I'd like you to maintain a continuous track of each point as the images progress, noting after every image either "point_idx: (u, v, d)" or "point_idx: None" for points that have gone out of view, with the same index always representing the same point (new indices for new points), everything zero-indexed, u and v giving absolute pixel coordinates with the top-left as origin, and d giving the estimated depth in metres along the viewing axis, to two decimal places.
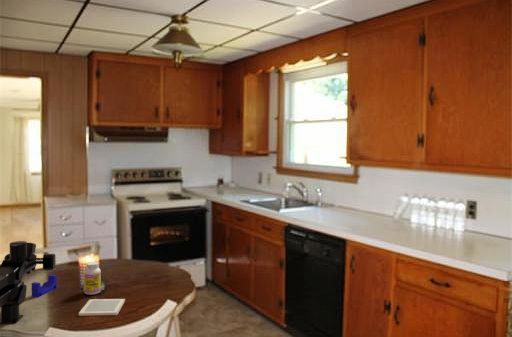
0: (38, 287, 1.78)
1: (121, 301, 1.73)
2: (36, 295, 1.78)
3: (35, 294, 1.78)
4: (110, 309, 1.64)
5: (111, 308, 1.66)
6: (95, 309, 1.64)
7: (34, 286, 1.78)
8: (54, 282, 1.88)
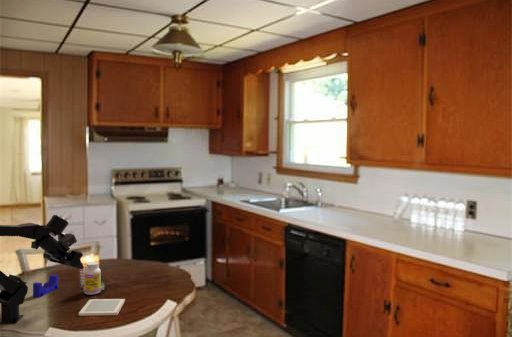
0: (40, 287, 1.78)
1: (121, 301, 1.73)
2: (38, 295, 1.78)
3: (36, 294, 1.78)
4: (110, 309, 1.64)
5: (111, 308, 1.66)
6: (95, 309, 1.64)
7: (36, 286, 1.78)
8: (55, 282, 1.88)
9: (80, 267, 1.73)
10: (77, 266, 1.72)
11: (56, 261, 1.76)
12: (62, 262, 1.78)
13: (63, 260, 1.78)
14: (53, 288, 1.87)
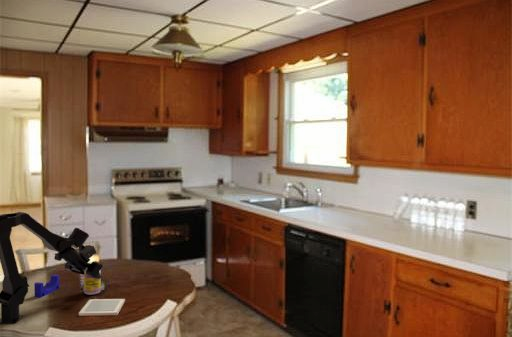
0: (41, 287, 1.78)
1: (121, 301, 1.73)
2: (39, 295, 1.78)
3: (38, 294, 1.78)
4: (110, 309, 1.64)
5: (111, 308, 1.66)
6: (95, 309, 1.64)
7: (37, 286, 1.78)
8: (57, 282, 1.88)
9: (98, 277, 1.82)
10: (95, 276, 1.81)
11: (78, 272, 1.83)
12: None
13: None
14: (54, 288, 1.87)
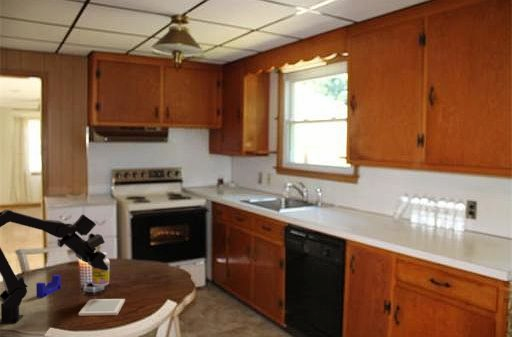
0: (43, 287, 1.78)
1: (121, 301, 1.73)
2: (41, 295, 1.78)
3: (40, 294, 1.78)
4: (110, 309, 1.64)
5: (111, 308, 1.66)
6: (95, 309, 1.64)
7: (39, 286, 1.78)
8: (58, 282, 1.88)
9: (104, 268, 1.73)
10: (100, 267, 1.71)
11: (87, 261, 1.76)
12: None
13: None
14: (56, 288, 1.87)
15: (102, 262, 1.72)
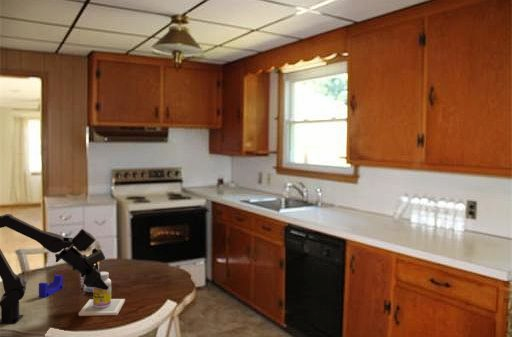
0: (45, 287, 1.78)
1: (121, 301, 1.73)
2: (43, 295, 1.78)
3: (42, 294, 1.78)
4: (110, 309, 1.64)
5: (111, 308, 1.66)
6: (95, 309, 1.64)
7: (41, 286, 1.78)
8: (60, 282, 1.88)
9: (103, 287, 1.63)
10: (98, 286, 1.61)
11: None
12: None
13: None
14: (58, 288, 1.87)
15: (100, 281, 1.61)
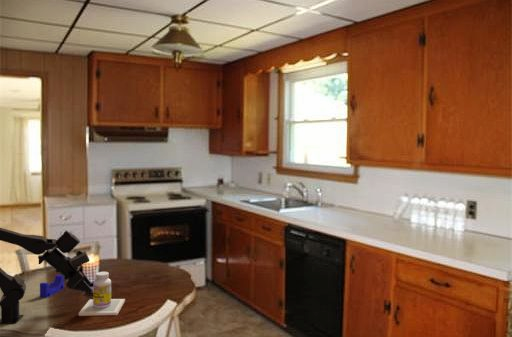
0: (47, 287, 1.78)
1: (121, 301, 1.73)
2: (45, 295, 1.78)
3: (43, 294, 1.78)
4: (110, 309, 1.64)
5: (111, 308, 1.66)
6: (95, 309, 1.64)
7: (43, 286, 1.78)
8: (61, 282, 1.88)
9: (86, 290, 1.60)
10: (81, 289, 1.59)
11: None
12: None
13: None
14: (59, 288, 1.87)
15: (83, 284, 1.59)
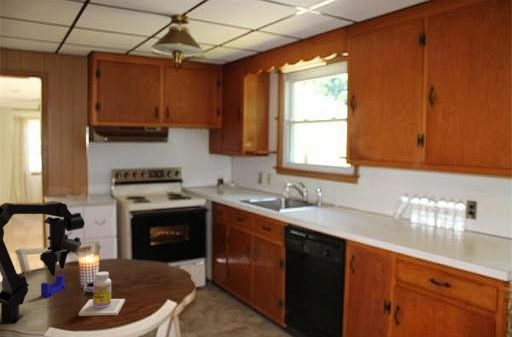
0: (48, 287, 1.78)
1: (121, 301, 1.73)
2: (46, 295, 1.78)
3: (44, 294, 1.78)
4: (110, 309, 1.64)
5: (111, 308, 1.66)
6: (95, 309, 1.64)
7: (44, 286, 1.78)
8: (62, 282, 1.88)
9: (51, 271, 1.65)
10: (49, 267, 1.64)
11: None
12: (59, 260, 1.75)
13: (62, 260, 1.75)
14: (60, 288, 1.87)
15: (53, 265, 1.64)
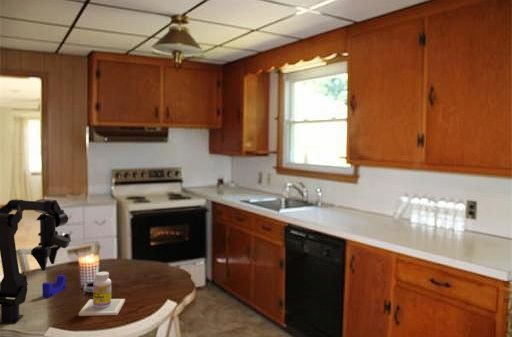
0: (49, 287, 1.78)
1: (121, 301, 1.73)
2: (47, 295, 1.78)
3: (46, 294, 1.78)
4: (110, 309, 1.64)
5: (111, 308, 1.66)
6: (95, 309, 1.64)
7: (45, 286, 1.78)
8: (63, 282, 1.88)
9: (41, 266, 1.72)
10: (39, 262, 1.71)
11: None
12: (50, 256, 1.81)
13: (52, 256, 1.81)
14: (61, 288, 1.87)
15: (44, 260, 1.71)
